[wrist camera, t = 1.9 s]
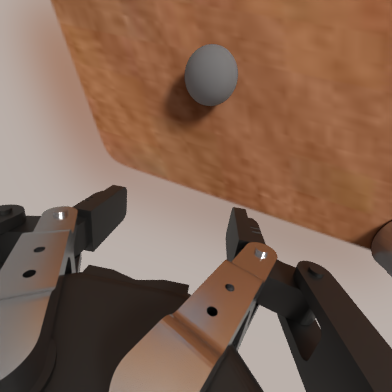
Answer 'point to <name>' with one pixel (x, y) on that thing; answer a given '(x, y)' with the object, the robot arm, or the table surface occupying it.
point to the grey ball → (211, 75)
